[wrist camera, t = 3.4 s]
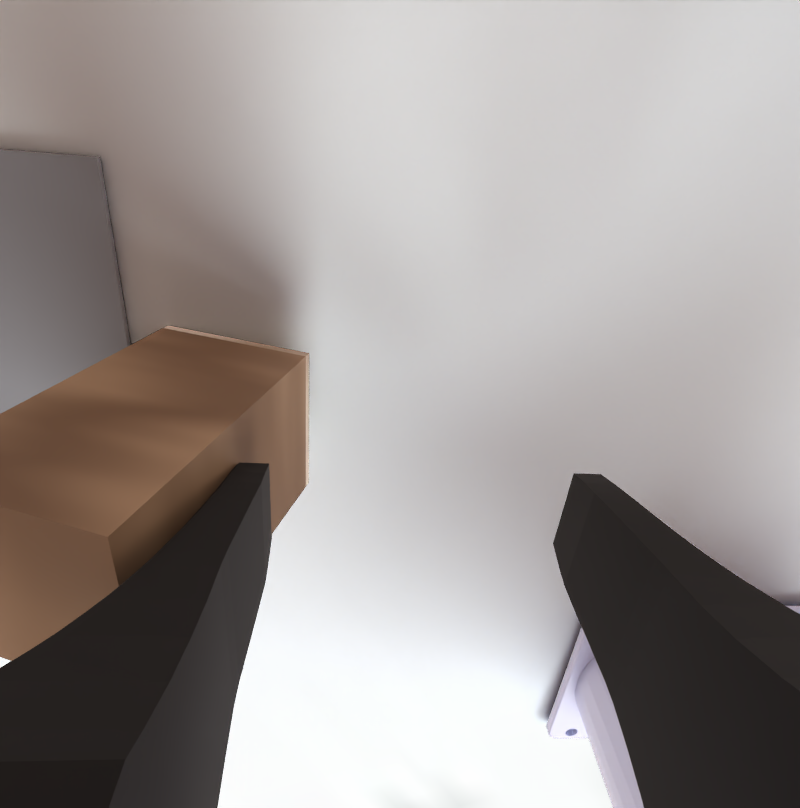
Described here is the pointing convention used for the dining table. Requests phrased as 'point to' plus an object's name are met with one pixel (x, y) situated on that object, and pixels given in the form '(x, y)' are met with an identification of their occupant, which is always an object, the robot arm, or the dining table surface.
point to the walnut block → (135, 465)
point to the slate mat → (55, 272)
